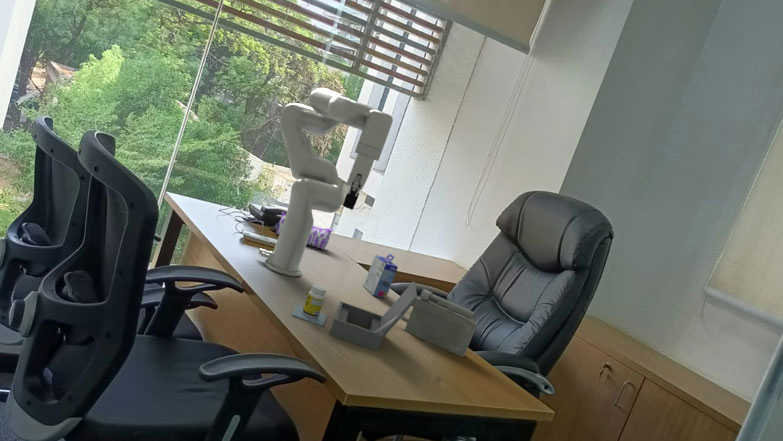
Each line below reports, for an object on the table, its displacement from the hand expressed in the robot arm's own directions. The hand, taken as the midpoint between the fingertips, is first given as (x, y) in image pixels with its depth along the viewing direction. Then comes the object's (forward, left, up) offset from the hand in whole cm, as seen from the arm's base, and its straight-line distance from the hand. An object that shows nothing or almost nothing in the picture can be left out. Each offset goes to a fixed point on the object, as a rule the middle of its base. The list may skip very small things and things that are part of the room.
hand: (348, 205), depth 201 cm
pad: (+1, -19, -30) cm, 36 cm away
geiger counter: (+36, -2, -31) cm, 47 cm away
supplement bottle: (0, -18, -30) cm, 35 cm away
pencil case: (-15, +66, -31) cm, 75 cm away
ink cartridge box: (+18, +30, -31) cm, 46 cm away
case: (+17, -19, -30) cm, 39 cm away
